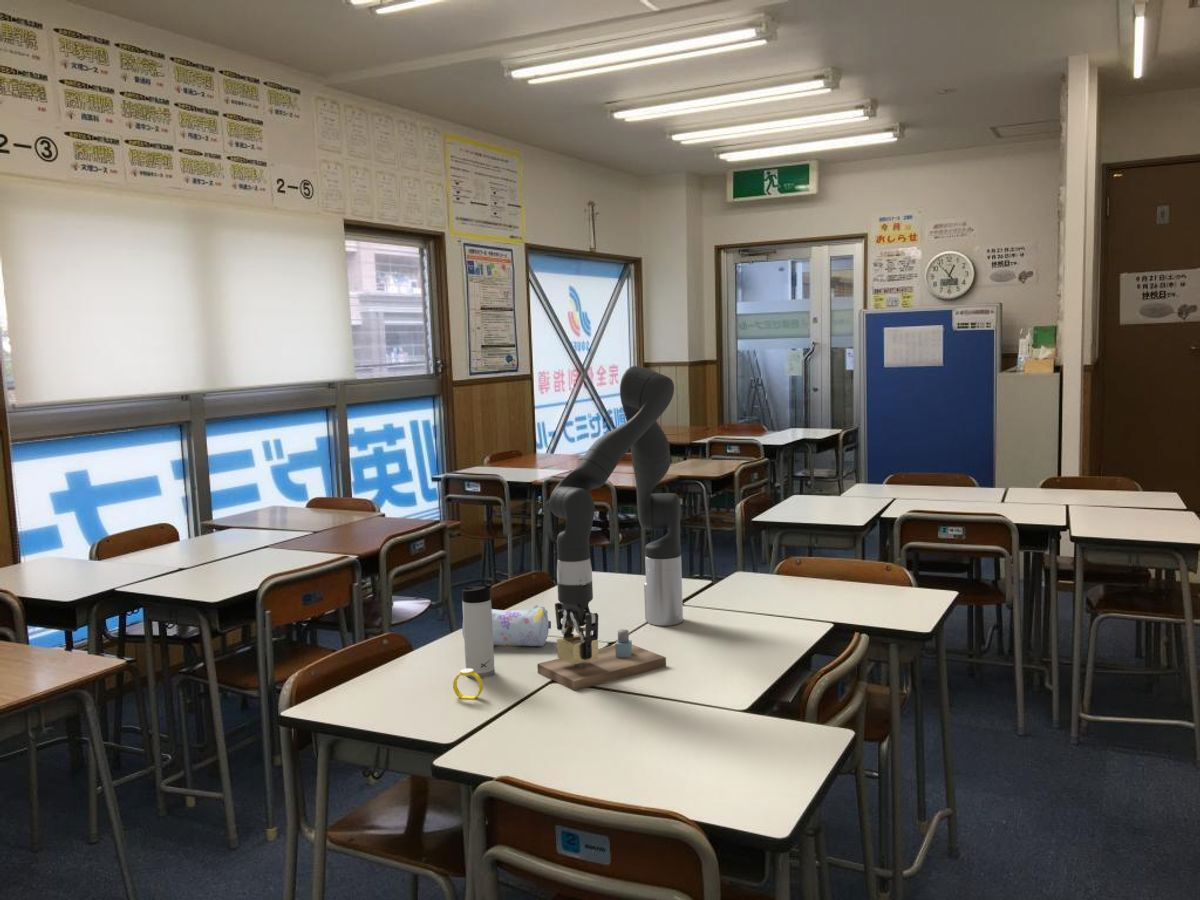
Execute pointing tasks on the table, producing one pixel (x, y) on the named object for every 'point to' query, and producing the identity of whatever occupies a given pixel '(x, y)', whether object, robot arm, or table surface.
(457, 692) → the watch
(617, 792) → the table surface
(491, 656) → the travel mug
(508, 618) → the pencil case
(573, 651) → the collar
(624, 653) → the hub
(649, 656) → the workboard
